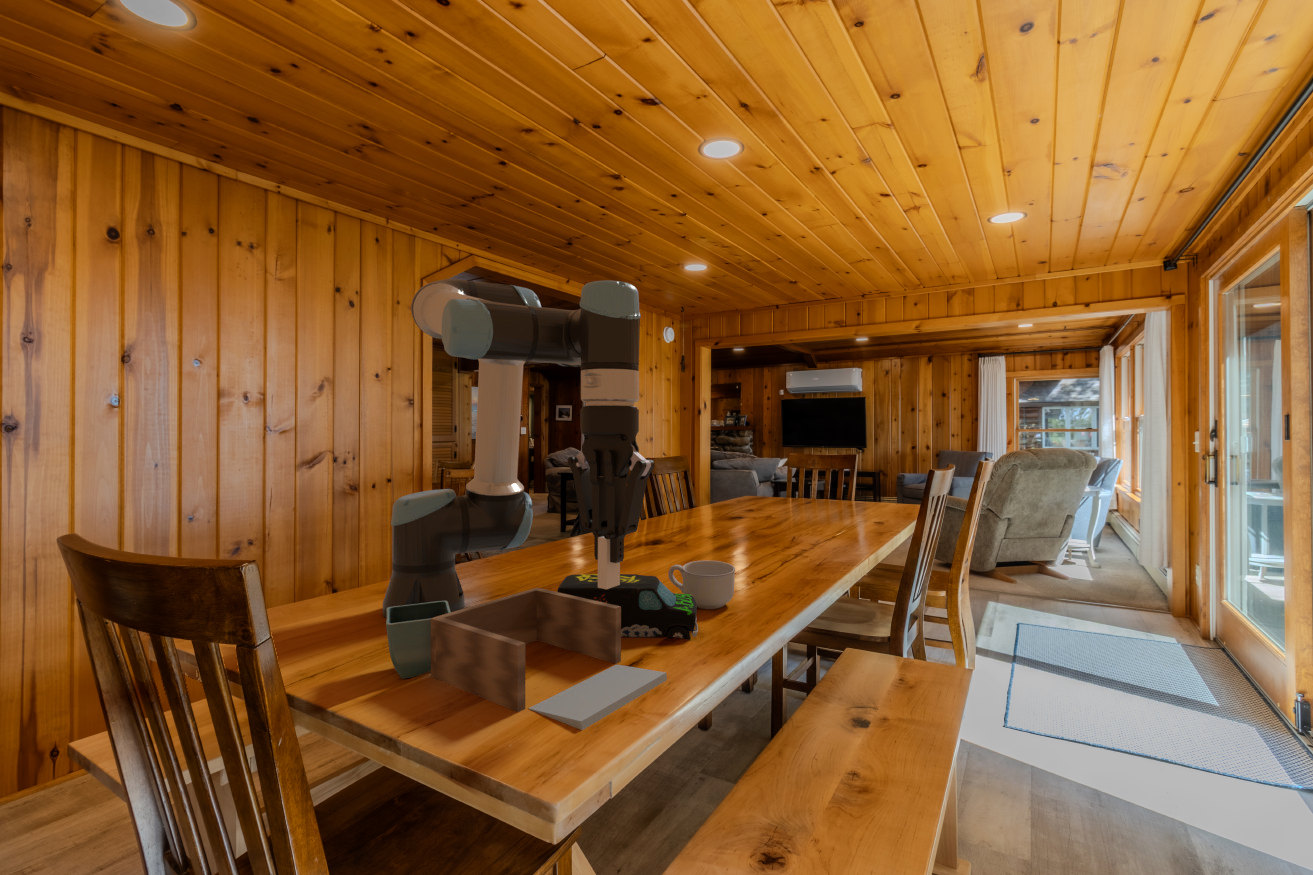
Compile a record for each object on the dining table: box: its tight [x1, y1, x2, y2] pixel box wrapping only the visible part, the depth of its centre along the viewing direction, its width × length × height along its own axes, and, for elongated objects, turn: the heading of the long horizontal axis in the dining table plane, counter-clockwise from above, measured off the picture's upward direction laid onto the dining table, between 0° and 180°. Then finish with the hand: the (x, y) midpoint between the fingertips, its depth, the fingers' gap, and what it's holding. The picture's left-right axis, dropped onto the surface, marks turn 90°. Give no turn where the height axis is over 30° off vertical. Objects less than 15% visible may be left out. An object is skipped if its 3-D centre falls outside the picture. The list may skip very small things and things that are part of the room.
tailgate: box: [527, 663, 668, 731], centre depth 80 cm, size 1×17×9 cm
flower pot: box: [385, 601, 451, 679], centre depth 90 cm, size 9×9×9 cm
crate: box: [430, 587, 622, 713], centre depth 88 cm, size 18×20×10 cm
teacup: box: [667, 559, 736, 610], centre depth 125 cm, size 14×11×8 cm
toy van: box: [556, 573, 699, 641], centre depth 106 cm, size 11×25×10 cm, turn 89°
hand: (608, 585), depth 79 cm, fingers closed
